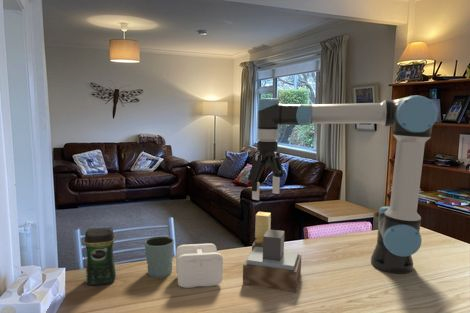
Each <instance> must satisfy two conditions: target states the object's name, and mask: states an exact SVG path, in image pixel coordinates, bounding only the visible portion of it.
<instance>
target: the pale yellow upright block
mask: <svg viewBox="0 0 470 313" xmlns="http://www.w3.org/2000/svg"><path fill="white" fill-rule="evenodd" d="M271 214H272V213H271V212H265V211H258V212H257V213H256V214H255V224H254V225H255V230H254V238H255V240H256V239H257V240H256V244H263V236H264V235H265V233H266V231H267V230H268V229H270V230H271V226H272V225H271V222H272V218H271V217H272V215H271Z"/></svg>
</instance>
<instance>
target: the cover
mask: <svg viewBox="0 0 470 313" xmlns="http://www.w3.org/2000/svg"><path fill="white" fill-rule="evenodd" d="M250 253H251V254H249V255H250V256H249V255H248V256H249V257H247V258H248V259H247V258H246V259H247V264H250V265H257V266H265V267H272V268H280V269H287V270H294V268H295V265H296V262H297V259H298V255H299V251H297V250H295V251H294V250H287V249H285V230H277V229H271V228H270V229H268V230H267V231H266V233H265V235H264V236H263V247H255V248H254V249H253V251H252V250H251V251H250Z"/></svg>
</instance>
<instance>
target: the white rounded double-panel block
mask: <svg viewBox="0 0 470 313" xmlns="http://www.w3.org/2000/svg"><path fill="white" fill-rule="evenodd" d="M217 251H218V250H217V246H216V245H215V244H214V243H193V244H191V243H190V244H180V245H179V246H177V247H176V250H175V252H176V253H175V258H176V259H175V260H176V262H175V267H176V268H175V273H176V275H177V285H178V286H180V287H181V288H185V289H189V288H190V289H191V288H195V287H196V288H197V287H207V288H208V287H214V286H217V285H220V284H221V283H222V282H223V264H224V260H223V259H224V258H223V255H222V254H221V253H220V252H217Z"/></svg>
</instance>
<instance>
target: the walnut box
mask: <svg viewBox="0 0 470 313" xmlns="http://www.w3.org/2000/svg"><path fill="white" fill-rule="evenodd" d="M256 240H257V238H255V240H254V241H253V243H252V244H251V252H252V251H253V249H254V248H255V247H263V244H256ZM251 252H250V254H251ZM250 254H249V255H247V256H248V257H249V256H250ZM248 257H247V258H246V259H245V261H244V263H243V265H242V285H243V286H252V287H256V288H262V289H264V288H265V289H269V290H270V289H271V290H277V291H286V292H291V293H296V292H297V289H298V286H299V281H300V278H301V277H300V276H301V273H302V272H301V271H302V254H298V259H297V262H296V265H295V268H294V270H287V269H280V268H272V267H265V266H257V265H250V264H247V259H248Z"/></svg>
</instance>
